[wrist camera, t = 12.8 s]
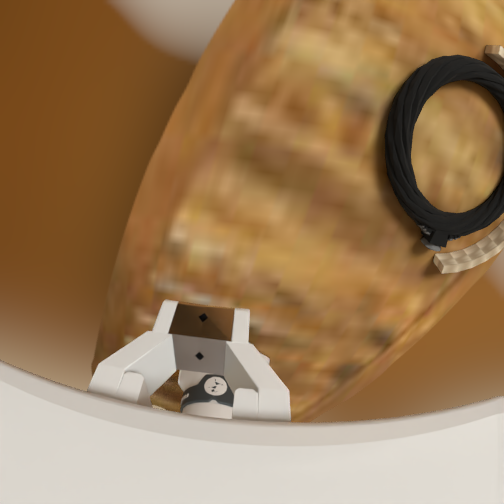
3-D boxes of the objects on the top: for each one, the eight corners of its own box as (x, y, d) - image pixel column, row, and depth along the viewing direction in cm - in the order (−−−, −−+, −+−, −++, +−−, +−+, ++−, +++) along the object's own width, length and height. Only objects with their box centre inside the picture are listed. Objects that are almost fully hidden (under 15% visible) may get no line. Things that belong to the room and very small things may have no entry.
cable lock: (547, 110, 25) (488, 266, 41) (533, 105, 28) (478, 254, 44) (417, 19, 23) (356, 234, 39) (404, 22, 26) (349, 221, 42)
